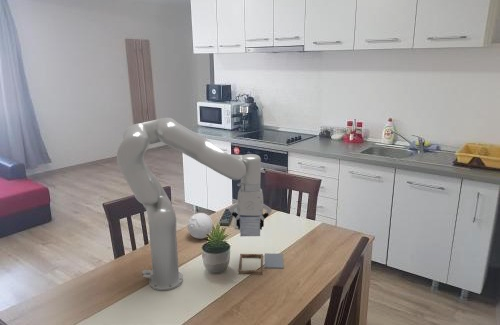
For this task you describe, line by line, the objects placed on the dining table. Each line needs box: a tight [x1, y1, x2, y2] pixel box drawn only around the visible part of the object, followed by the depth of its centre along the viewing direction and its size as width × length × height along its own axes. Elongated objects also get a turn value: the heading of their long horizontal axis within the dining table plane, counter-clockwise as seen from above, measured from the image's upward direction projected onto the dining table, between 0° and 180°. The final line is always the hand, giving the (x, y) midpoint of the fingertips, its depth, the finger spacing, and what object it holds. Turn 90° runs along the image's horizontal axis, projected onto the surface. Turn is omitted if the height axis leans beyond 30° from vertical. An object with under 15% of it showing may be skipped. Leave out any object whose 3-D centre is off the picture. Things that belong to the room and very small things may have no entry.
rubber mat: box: [264, 252, 285, 270], centre depth 155 cm, size 8×11×1 cm
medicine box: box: [239, 215, 261, 237], centre depth 147 cm, size 8×4×9 cm, turn 88°
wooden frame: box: [237, 253, 264, 276], centre depth 152 cm, size 10×14×2 cm
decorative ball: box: [187, 212, 214, 239], centre depth 175 cm, size 12×12×12 cm
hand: (250, 227), depth 147 cm, fingers closed on medicine box, 8 cm apart
